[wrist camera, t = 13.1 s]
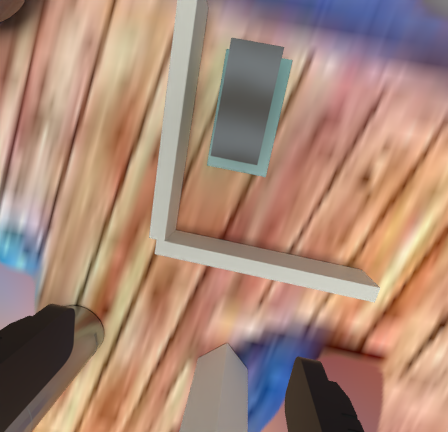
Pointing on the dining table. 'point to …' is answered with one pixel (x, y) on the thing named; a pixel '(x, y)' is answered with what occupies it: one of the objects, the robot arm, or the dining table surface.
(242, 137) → the bar
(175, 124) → the arena
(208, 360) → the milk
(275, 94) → the pad
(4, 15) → the ceramic pitcher
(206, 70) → the dining table surface
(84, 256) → the dining table surface
